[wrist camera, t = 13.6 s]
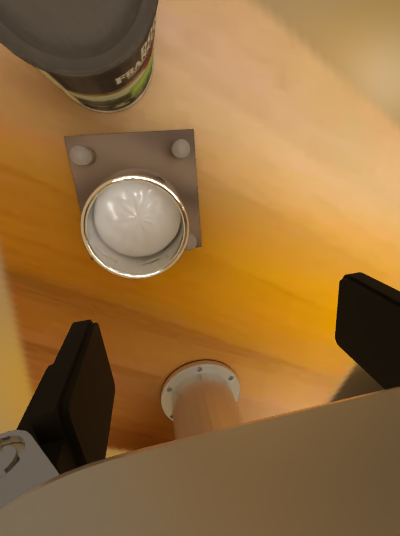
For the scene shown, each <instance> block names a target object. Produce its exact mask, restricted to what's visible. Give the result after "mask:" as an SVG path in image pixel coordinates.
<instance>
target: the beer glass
mask: <svg viewBox="0 0 400 536" xmlns="http://www.w3.org/2000/svg"><path fill="white" fill-rule="evenodd" d="M81 234H82V238H83V241H84V244H85V246H86V248H87V250H88V252H89V253H90V255H91V256H92V258H93V259H94V260H95V261H96V262H97V263H98V264H99V265H100V266H102V267H103V268H104V269H106V270H107V271H109V272H111V273H113V274H115V275H118V276H121V277H125V278H131V279H142V278H149V277H153V276H156V275H158V274H161V273H163V272H164V271H166V270H167V269H169V268H170V267H171V266H173V265H174V264H175V263H176V262H177V260H178V259H179V258H180V256H181V255H182V253H183V251H184V249H185V247H186V244H187V241H188V236H189V222H188V217H187V213H186V210H185V208H184V205H183V202H182V200H181V198H180V196H179V194H178V192H177V191H176V189H175V188H174V187H173V186H172V185H171V184H170V183H169V182H168V181H167V180H166V179H165V178H163V177H162V176H160V175H158V174H156V173H154V172H152V171H149V170H145V169H125V170H121V171H118V172H116V173H114V174H112V175H110V176H109V177H107V178H106V179H105V180H103V181H102V182H101V183H100V184H99V185H98V186H97V188H96V189H95V190H94V192H93V193H92V194H91V195H90V197H89V198H88V200H87V201H86V203H85V206H84V208H83V211H82V216H81Z"/></svg>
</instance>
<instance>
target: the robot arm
mask: <svg viewBox="0 0 400 536" xmlns="http://www.w3.org/2000/svg"><path fill="white" fill-rule="evenodd" d="M335 340H336V342H337V344H338V345H339V347H341V348H342V349H343V350H344V351H345V352H346V353H347V354H348V355H349V356H350V357H351V358H352V359H353V360H354V361H355V362H356V363H358V364H359V365H360V366H361V367H362V368H363V369H364V370H365V371H366V372H367V373H368V374H369V375H370V376H371V377H373V378H374V379H375V380H376V381H377V382H378V383H379V384H380V385H381V386H382V387H383V388H384V389H385V390H382V391H378V392H374V393H370V394H365V395H361V396H356V397H352V398H348V399H344V400H339V401H335V402H331V403H327V404H322V405H318V406H314V407H310V408H305V409H301V410H297V411H293V412H289V413H284V414H280V415H276V416H272V417H268V418H264V419H259V420H255V421H251V422H247V423H243V420H242V417H241V414H240V412H239V409H238V406H237V404H236V403H237V401H238V399H239V396H240V383H239V381H238V378H237V376H236V374H235V373H234V371H233V370H232V369H231V368H230V367H228V366H227V365H225V364H223V363H220V362H216V361H209V360H203V361H196V362H192V363H189V364H187V365H184V366H182V367H180V368H179V369H177V370H176V371H175V372H173V373H172V374H171V375H170V376H169V377H168V379H167V380H166V381H165V383H164V385H163V387H162V391H161V406H162V409H163V411H164V413H165V414H166V416H167V417H168V418H169V419H171V420H172V421H173V425H174V435H175V440H173V441H169V442H165V443H161V444H157V445H153V446H149V447H145V448H141V449H138V450H134V451H130V452H127V453H124V454H120V455H116V456H113V457H109V458H106V459H105V456H106V450H107V443H108V436H109V429H110V422H111V416H112V409H113V402H114V395H115V384H114V380H113V376H112V372H111V369H110V365H109V361H108V358H107V354H106V350H105V347H104V343H103V339H102V336H101V332H100V328H99V325H98V323H93V322H92V321H91V320H85V321H79V322H74V323H73V324H72V326H71V328H70V330H69V332H68V334H67V336H66V338H65V340H64V343H63V345H62V347H61V349H60V351H59V353H58V355H57V357H56V359H55V361H54V363H53V364H52V365H50V366H48V368H47V369H46V371H45V373H44V375H43V377H42V379H41V381H40V383H39V385H38V387H37V389H36V391H35V393H34V395H33V397H32V399H31V401H30V403H29V405H28V407H27V409H26V411H25V413H24V415H23V417H22V420H21V422H20V423H19V426H18V428H17V430H13V431H8V432H5V433H2V434H0V536H400V291H398V290H396V289H394V288H392V287H390V286H388V285H386V284H384V283H382V282H380V281H378V280H376V279H374V278H372V277H370V276H368V275H366V274H364V273H361V272H359V273H353V274H347V275H345V276H344V277H343V279H341V280H340V283H339V295H338V307H337V319H336V331H335Z"/></svg>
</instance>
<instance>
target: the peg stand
mask: <svg viewBox="0 0 400 536" xmlns="http://www.w3.org/2000/svg"><path fill="white" fill-rule="evenodd" d="M64 139H65V144H66V148H67V152H68V157H69V161H70V166H71V170H72V175H73V179H74V184H75V188H76V192H77V197H78V201H79V206H80V210H81V215H82V211H83V208H84V206H85V203H86V201H87V200H88V198H89V197H90V195H91V194H92V193H93V192H94V190H95V189H96V188H97V186H98V185H99V184H100V183H101V182H102V181H103V180H105V179H106V178H107V177H109V176H110V175H112V174H114V173H116V172H118V171H121V170H125V169H145V170H149V171H152V172H154V173H156V174H158V175H160V176H162V177H163V178H165V179H166V180H167V181H168V182H169V183H170V184H171V185H172V186H173V187H174V188H175V189H176V191H177V192H178V194H179V196H180V198H181V200H182V202H183V205H184V208H185V210H186V213H187V217H188V222H189V236H188V241H187V244H186V247H185V249H187V250H192V249H194V248H196V247H201V232H200V217H199V202H198V187H197V172H196V158H195V143H194V129H187V130H170V131H152V132H135V133H118V134H100V135H83V136H66V137H64ZM91 259H92V260H94V259H93V258H92V256H91Z"/></svg>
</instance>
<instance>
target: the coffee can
mask: <svg viewBox="0 0 400 536" xmlns="http://www.w3.org/2000/svg"><path fill="white" fill-rule="evenodd" d="M157 5H158V0H0V43H2V44H3V45H4V46H5V47H6V48H8V49H9V50H10V51H11V52H13V53H14V54H15V55H16V56H18V57H20V58H21V59H23V60H24V61H26V62H27V63H29V64H31V65H33V66H34V67H35V68H36V69H37V70H38V71H40V72H41V73H42V74H43V75H44V76H46V77H47V78H48V79H49V80H51V81H52V82H53V83H54V84H55V85H57V86H58V87H59V88H60V89H61V90H63V91H64V92H65V93H66V94H67V95H68V96H69V97H70V98H71V99H72V100H74V101H75V102H76V103H78V104H79V105H81V106H83V107H85V108H87V109H90V110H93V111H97V112H103V113H112V112H118V111H122V110H125V109H127V108H129V107H130V106H132V105H133V104H135V103H136V102H137V101H138V100H139V99H140V98H141V97H142V96H143V94H144V93H145V91H146V89H147V87H148V85H149V83H150V81H151V77H152V73H153V65H154V53H153V51H154V36H155V23H156V10H157Z"/></svg>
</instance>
